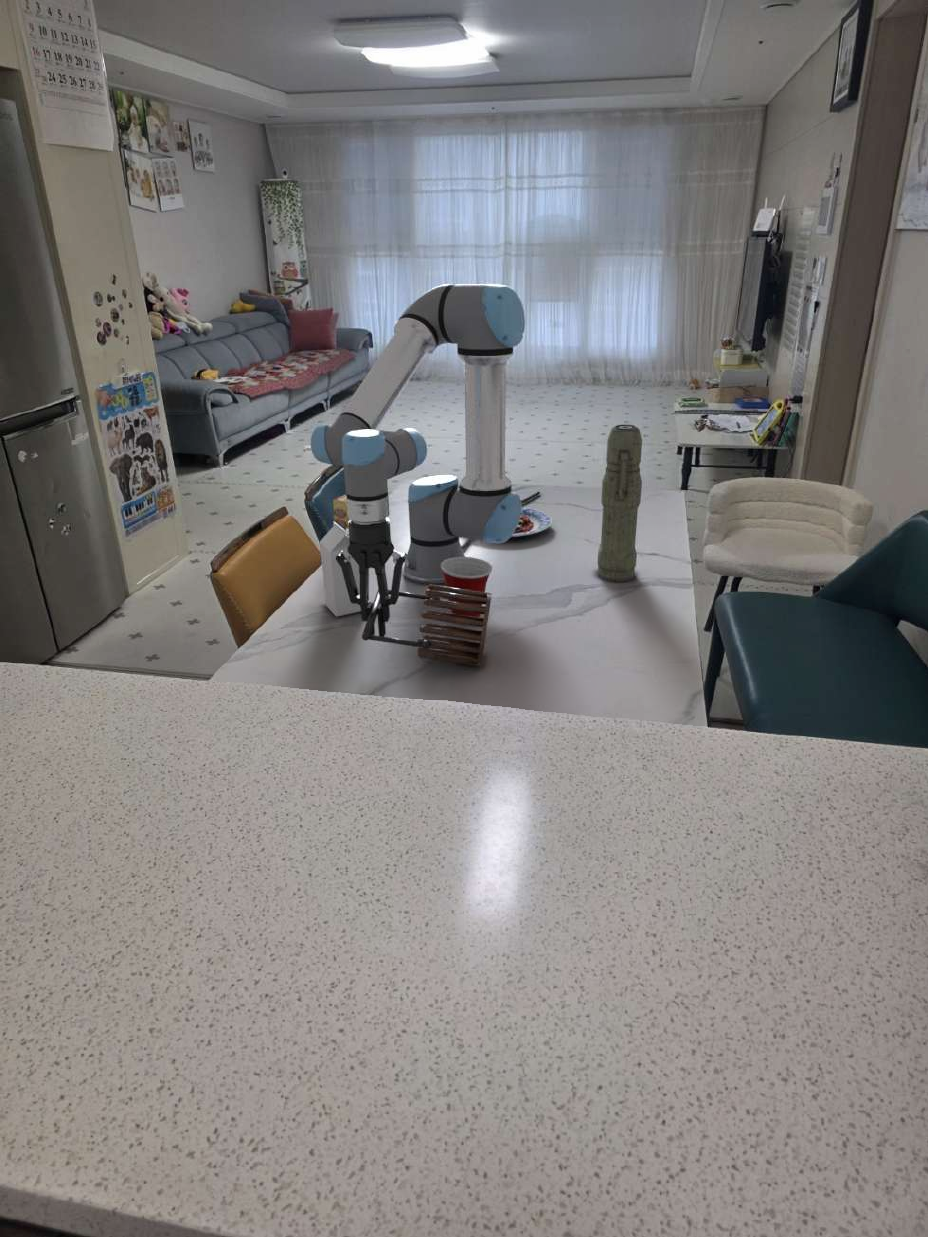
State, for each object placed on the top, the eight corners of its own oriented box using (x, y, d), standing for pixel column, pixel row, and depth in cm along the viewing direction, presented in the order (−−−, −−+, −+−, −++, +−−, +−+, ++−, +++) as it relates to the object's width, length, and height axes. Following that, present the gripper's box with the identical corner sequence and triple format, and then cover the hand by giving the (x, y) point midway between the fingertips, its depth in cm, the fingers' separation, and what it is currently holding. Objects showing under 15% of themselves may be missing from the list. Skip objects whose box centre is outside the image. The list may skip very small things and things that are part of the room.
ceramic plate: (568, 522, 231) (568, 511, 230) (524, 549, 212) (524, 538, 211) (489, 508, 244) (489, 499, 243) (441, 533, 225) (440, 523, 223)
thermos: (631, 565, 201) (641, 420, 186) (638, 584, 190) (650, 432, 175) (594, 565, 201) (602, 421, 186) (599, 584, 190) (608, 432, 176)
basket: (377, 617, 165) (380, 558, 157) (485, 633, 165) (494, 575, 156) (359, 668, 152) (362, 606, 144) (478, 685, 152) (487, 625, 143)
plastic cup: (488, 630, 170) (487, 575, 164) (436, 626, 172) (435, 572, 167) (496, 608, 179) (496, 556, 174) (448, 605, 181) (446, 554, 176)
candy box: (350, 559, 208) (345, 501, 201) (336, 557, 209) (331, 499, 203) (368, 548, 215) (364, 491, 209) (354, 546, 217) (350, 490, 210)
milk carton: (336, 617, 176) (328, 533, 168) (325, 605, 182) (317, 524, 174) (367, 610, 179) (361, 527, 171) (355, 599, 185) (349, 518, 177)
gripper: (324, 524, 145) (335, 643, 155) (404, 526, 144) (411, 646, 154) (334, 511, 152) (344, 626, 162) (411, 512, 151) (417, 628, 161)
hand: (377, 635), depth 158 cm, fingers closed on basket, 1 cm apart
